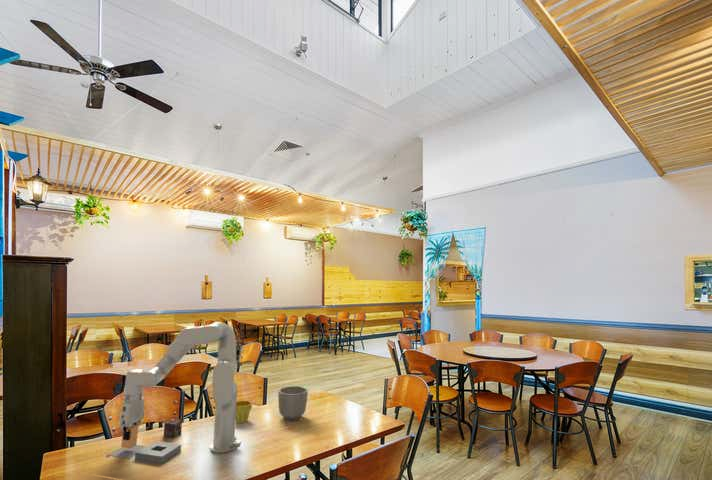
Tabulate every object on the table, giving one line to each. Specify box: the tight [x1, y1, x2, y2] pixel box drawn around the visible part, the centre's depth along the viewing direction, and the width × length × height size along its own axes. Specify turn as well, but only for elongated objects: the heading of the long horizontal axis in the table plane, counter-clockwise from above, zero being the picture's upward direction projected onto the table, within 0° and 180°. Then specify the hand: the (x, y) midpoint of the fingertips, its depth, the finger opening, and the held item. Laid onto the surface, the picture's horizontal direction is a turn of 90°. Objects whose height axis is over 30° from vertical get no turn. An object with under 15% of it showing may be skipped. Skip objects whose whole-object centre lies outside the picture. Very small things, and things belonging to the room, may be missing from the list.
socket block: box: [134, 440, 182, 465], centre depth 166 cm, size 14×12×4 cm
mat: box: [106, 444, 147, 459], centre depth 170 cm, size 12×12×1 cm
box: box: [163, 418, 183, 439], centre depth 188 cm, size 6×6×7 cm
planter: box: [277, 385, 309, 422], centre depth 216 cm, size 17×17×16 cm
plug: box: [120, 424, 140, 449], centre depth 170 cm, size 5×4×9 cm
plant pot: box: [235, 400, 253, 424], centre depth 210 cm, size 10×10×10 cm
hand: (129, 437), depth 170 cm, fingers closed on plug, 3 cm apart
